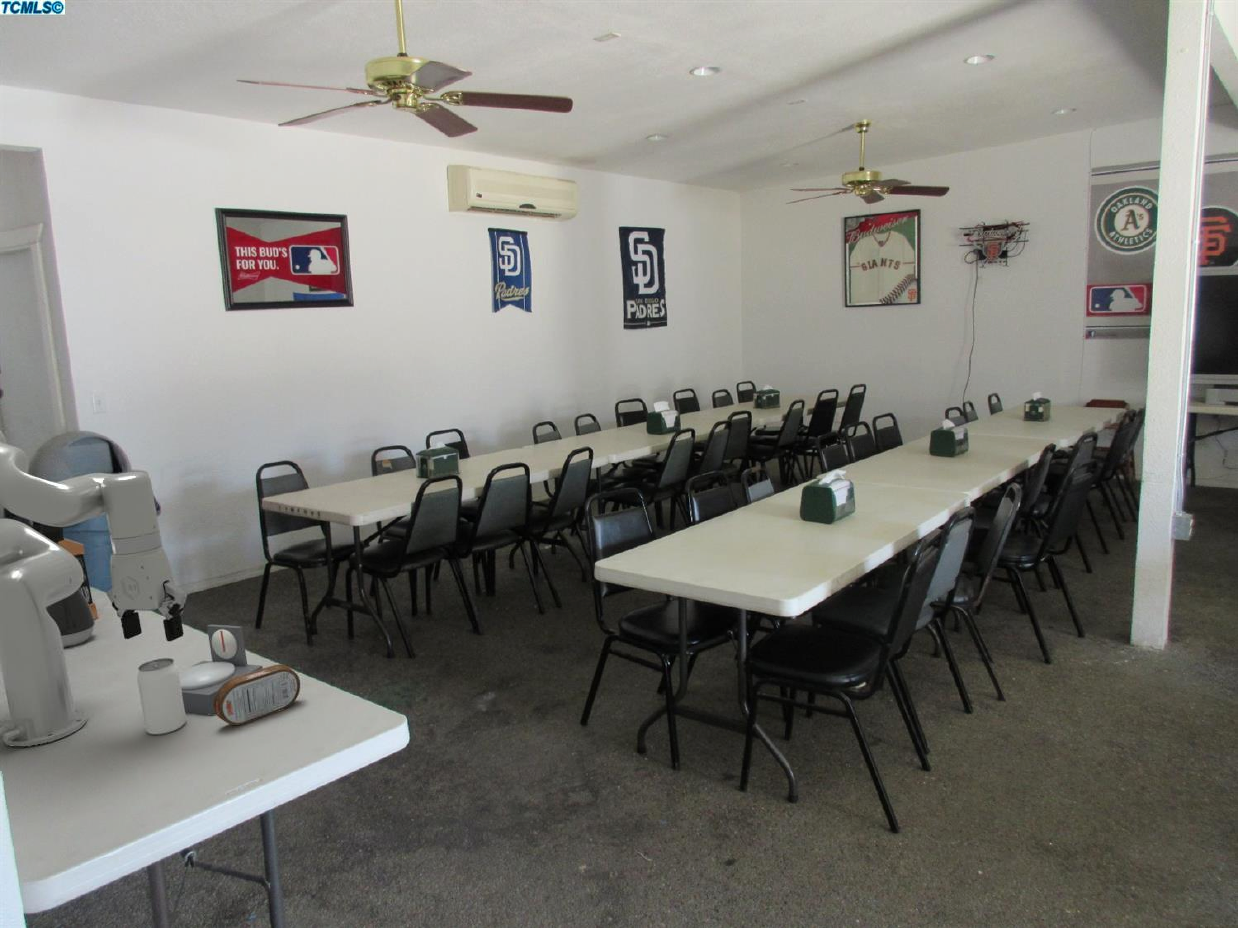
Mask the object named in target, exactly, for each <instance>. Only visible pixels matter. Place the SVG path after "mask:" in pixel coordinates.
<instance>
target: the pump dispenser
mask: <svg viewBox="0 0 1238 928" xmlns="http://www.w3.org/2000/svg"><path fill="white" fill-rule="evenodd" d="M46 610H47V612H48V614H49V615H50V616H51V618H52V619H53V620H54V621H55V622H56V624H57V626H58V628H59V630H60V634H61V638H62V643H63V648H68V647H67V646H69V647H73V646H72V645H74V646H77V645H76V644H78V645H80V644H83V643H84V642H86V641H88V640H89V638H90V637H91V636H92V634H93V633H94V626H95V625H96V621H95V619H94V617H93V614H92V611H91V608H90V606H89V604H88V602H87V600H86V598H85V597H84V595H83V594H82V592H81V591H80V590H79V589H78V590H77V591H76V592H75V593H73V594H72V595H70V596H68V597H66V598H64V599H62V600H60V601H58V602H56V603H54V604H51V605H50V606H48V607H46ZM79 643H80V644H79Z"/></svg>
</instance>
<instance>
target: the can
mask: <svg viewBox="0 0 1238 928" xmlns="http://www.w3.org/2000/svg"><path fill="white" fill-rule="evenodd" d="M174 662H175V661H174V659H173V658H169V657H163V658H157V659H156V658H155V659H152V660H149V661H147V662H144V663H142V664H140V665H139V666H138V668H137V669H138V673H137V675H136V676H137V677H136V679H137V685H138V690H139V691H138V692H139V698H140V703H141V704H140V705H141V710H142V716H143V720H144V721H143V722H144V725H145V731H146V733H148V734H149V735H152V736H161V735H166V734H169V733H172V732H176V731H177V729H178V730H179V729H181V728H182V727H183V726H185V723H186V722H187V720H186V719H187V718H186V712H185V710H184V704H183V697H182V691H181V685H180V679H179V668H178V666H177V665H176V664H175V663H174ZM175 730H176V731H175Z"/></svg>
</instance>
